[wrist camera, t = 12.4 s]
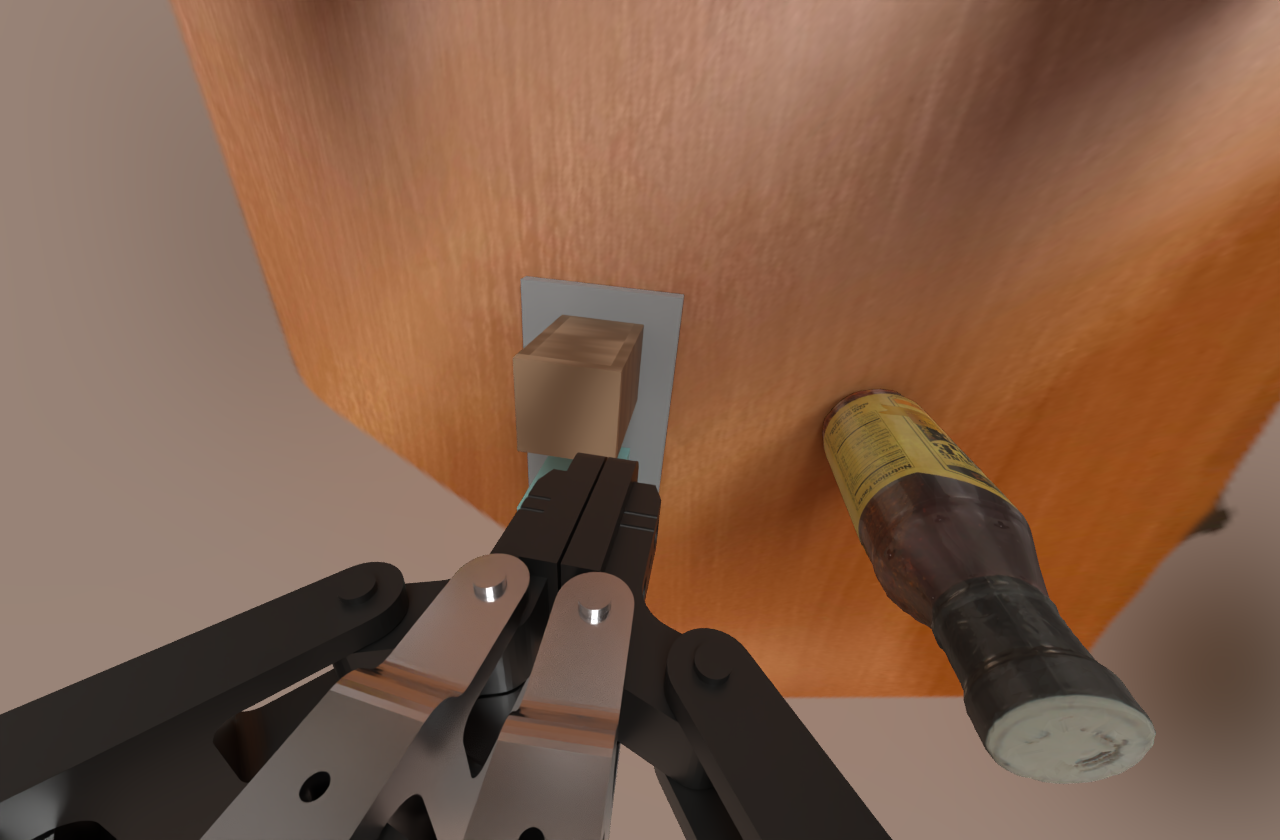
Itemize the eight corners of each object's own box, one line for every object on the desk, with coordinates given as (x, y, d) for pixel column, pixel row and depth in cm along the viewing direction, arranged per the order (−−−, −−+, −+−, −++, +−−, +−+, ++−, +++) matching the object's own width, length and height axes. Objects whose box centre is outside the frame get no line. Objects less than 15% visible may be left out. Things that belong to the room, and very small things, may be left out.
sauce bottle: (931, 444, 30) (1233, 805, 13) (837, 477, 32) (983, 826, 15) (899, 361, 28) (1210, 660, 10) (800, 403, 30) (922, 709, 13)
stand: (684, 294, 28) (672, 339, 20) (655, 521, 36) (639, 615, 28) (526, 276, 29) (456, 311, 21) (534, 502, 37) (485, 588, 29)
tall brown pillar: (644, 324, 28) (621, 372, 21) (637, 400, 30) (614, 465, 23) (562, 314, 28) (512, 357, 21) (561, 390, 31) (517, 451, 24)
